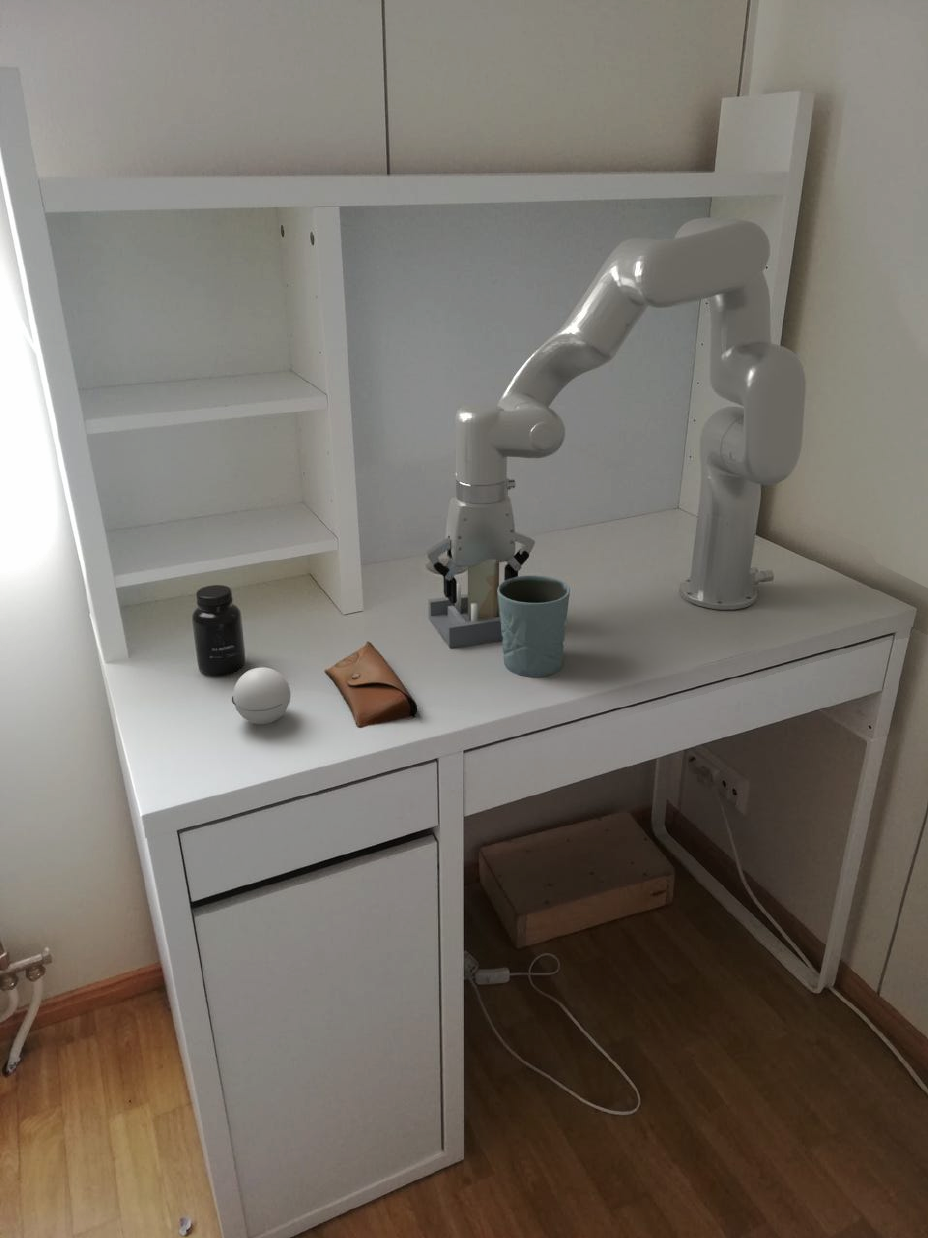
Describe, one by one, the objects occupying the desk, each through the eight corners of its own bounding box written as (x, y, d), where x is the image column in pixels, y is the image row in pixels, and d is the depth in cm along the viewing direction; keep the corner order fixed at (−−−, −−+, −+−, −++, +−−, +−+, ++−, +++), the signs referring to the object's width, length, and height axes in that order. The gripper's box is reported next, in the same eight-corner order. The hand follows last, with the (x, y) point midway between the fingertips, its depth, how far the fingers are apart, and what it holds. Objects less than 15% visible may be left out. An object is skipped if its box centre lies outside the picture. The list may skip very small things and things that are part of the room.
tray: (509, 606, 151) (510, 573, 148) (535, 634, 141) (536, 599, 139) (428, 618, 147) (427, 584, 144) (449, 648, 137) (449, 612, 135)
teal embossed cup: (579, 669, 131) (584, 593, 126) (521, 687, 127) (522, 609, 122) (540, 642, 139) (543, 569, 134) (483, 657, 135) (484, 583, 130)
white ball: (252, 702, 123) (246, 654, 120) (302, 709, 122) (297, 661, 118) (214, 741, 115) (206, 690, 112) (267, 750, 113) (260, 699, 110)
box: (494, 628, 141) (494, 562, 136) (466, 626, 142) (466, 560, 137) (499, 614, 146) (499, 549, 141) (472, 612, 147) (472, 548, 142)
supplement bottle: (222, 682, 128) (212, 605, 123) (188, 670, 132) (177, 594, 127) (256, 662, 134) (248, 587, 129) (223, 651, 137) (213, 578, 132)
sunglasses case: (319, 668, 132) (339, 629, 130) (360, 682, 135) (380, 643, 134) (357, 730, 117) (381, 686, 116) (402, 743, 121) (425, 700, 119)
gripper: (525, 477, 140) (523, 580, 148) (418, 489, 135) (421, 594, 143) (545, 491, 134) (541, 597, 141) (432, 504, 129) (435, 613, 136)
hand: (481, 595), depth 142 cm, fingers open, 9 cm apart
